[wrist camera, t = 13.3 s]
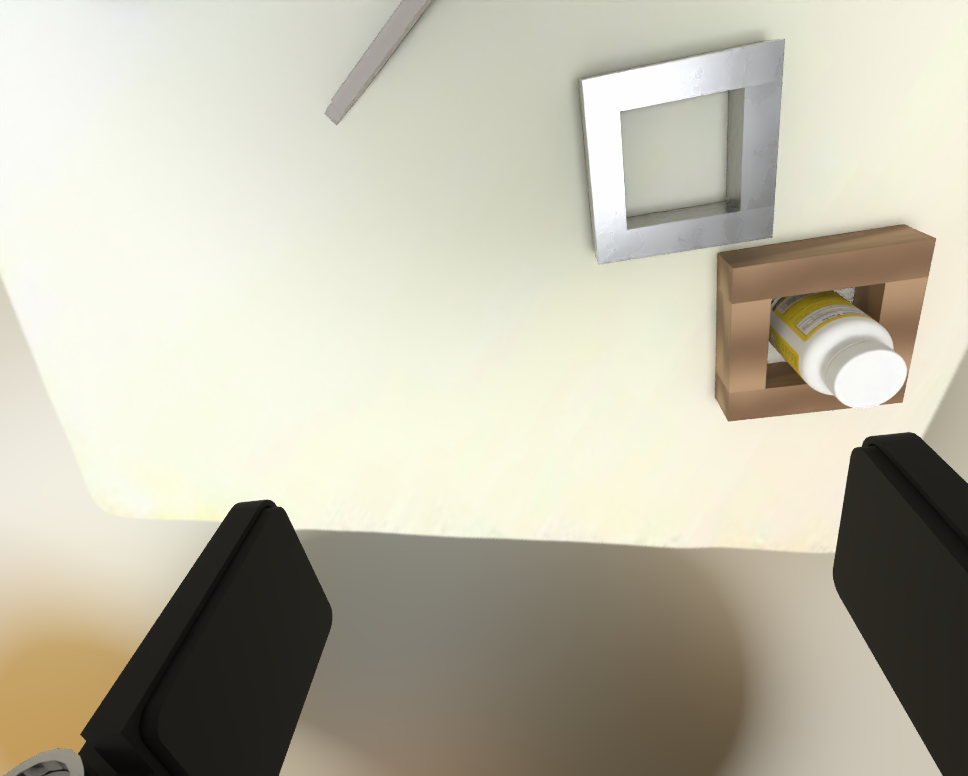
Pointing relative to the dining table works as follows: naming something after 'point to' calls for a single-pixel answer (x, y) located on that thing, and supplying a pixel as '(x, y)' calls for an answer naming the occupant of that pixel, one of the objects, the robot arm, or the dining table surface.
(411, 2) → the caliper
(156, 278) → the dining table surface
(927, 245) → the block
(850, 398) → the supplement bottle
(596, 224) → the socket block
